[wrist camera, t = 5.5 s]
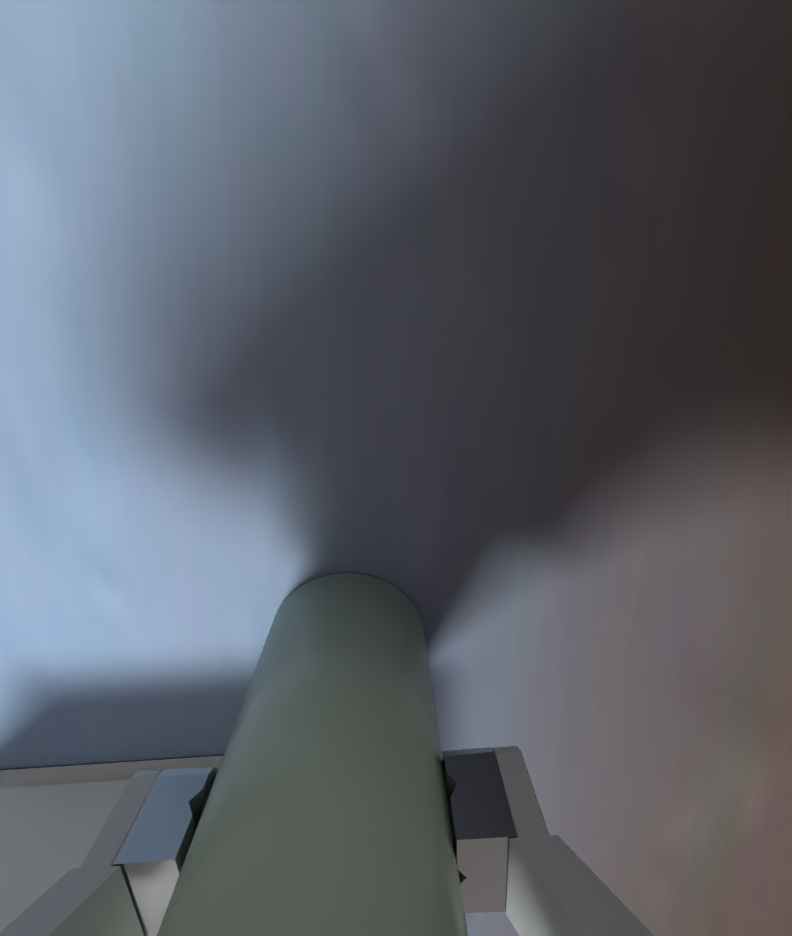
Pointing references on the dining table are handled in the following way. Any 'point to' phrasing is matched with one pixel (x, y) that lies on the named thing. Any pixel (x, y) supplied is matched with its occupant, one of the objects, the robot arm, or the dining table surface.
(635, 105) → the dining table surface
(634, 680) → the dining table surface
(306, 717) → the spice jar
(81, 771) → the bin
